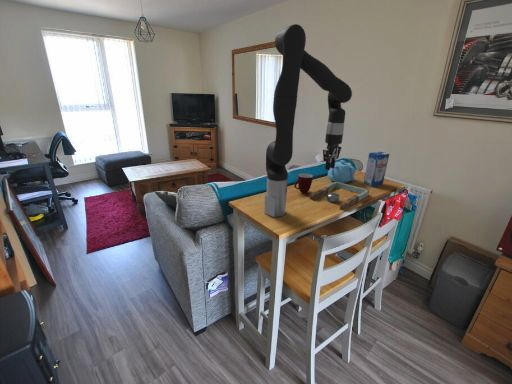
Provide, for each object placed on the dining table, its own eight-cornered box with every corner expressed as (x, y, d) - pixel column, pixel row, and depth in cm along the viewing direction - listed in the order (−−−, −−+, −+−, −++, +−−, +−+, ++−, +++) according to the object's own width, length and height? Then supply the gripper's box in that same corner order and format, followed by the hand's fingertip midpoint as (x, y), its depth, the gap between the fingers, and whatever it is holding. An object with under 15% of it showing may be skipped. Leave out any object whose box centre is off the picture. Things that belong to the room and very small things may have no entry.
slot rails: (343, 210, 124) (344, 204, 122) (310, 199, 136) (310, 194, 135) (357, 201, 134) (358, 196, 133) (325, 191, 146) (325, 186, 145)
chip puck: (335, 204, 130) (336, 198, 129) (324, 200, 134) (325, 194, 133) (340, 201, 134) (341, 195, 133) (330, 197, 138) (331, 191, 137)
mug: (299, 196, 139) (301, 179, 135) (290, 191, 145) (291, 175, 142) (313, 193, 144) (315, 176, 140) (304, 188, 150) (306, 172, 147)
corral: (358, 201, 134) (359, 196, 133) (324, 191, 147) (324, 186, 146) (368, 195, 143) (369, 190, 142) (335, 186, 156) (335, 181, 155)
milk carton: (374, 182, 165) (380, 151, 157) (382, 185, 160) (389, 153, 152) (363, 183, 161) (369, 152, 154) (371, 187, 156) (377, 155, 148)
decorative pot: (327, 176, 175) (329, 156, 170) (351, 178, 171) (354, 158, 166) (327, 183, 160) (329, 162, 155) (354, 186, 157) (357, 164, 152)
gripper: (334, 135, 108) (329, 173, 115) (349, 132, 118) (343, 167, 124) (319, 133, 113) (315, 170, 119) (334, 130, 123) (330, 164, 129)
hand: (329, 168), depth 122 cm, fingers open, 3 cm apart
